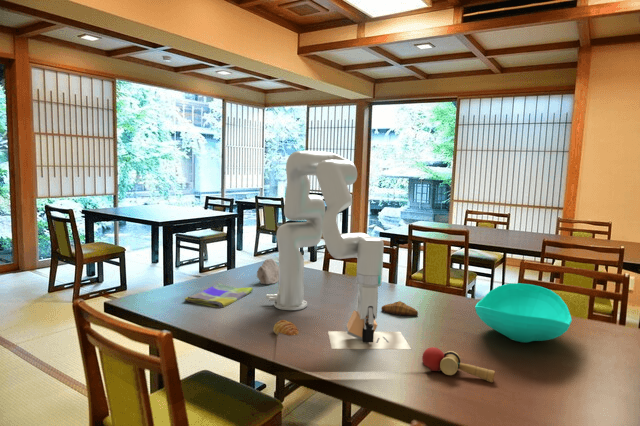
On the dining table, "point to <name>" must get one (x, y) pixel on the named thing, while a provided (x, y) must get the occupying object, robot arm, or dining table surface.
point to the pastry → (285, 328)
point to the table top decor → (524, 312)
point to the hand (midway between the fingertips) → (366, 337)
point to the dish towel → (219, 295)
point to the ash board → (379, 342)
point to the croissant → (399, 309)
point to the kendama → (452, 364)
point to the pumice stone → (268, 272)
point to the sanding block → (357, 326)
